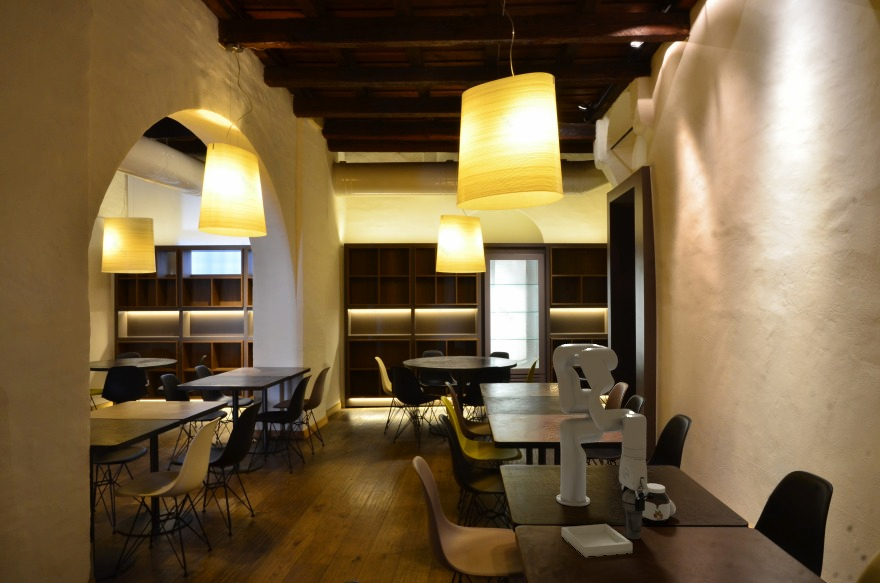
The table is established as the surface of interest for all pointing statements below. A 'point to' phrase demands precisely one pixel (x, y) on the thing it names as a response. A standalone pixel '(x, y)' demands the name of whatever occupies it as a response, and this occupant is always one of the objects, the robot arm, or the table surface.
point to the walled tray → (596, 540)
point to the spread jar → (657, 504)
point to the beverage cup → (631, 515)
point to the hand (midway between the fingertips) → (633, 506)
